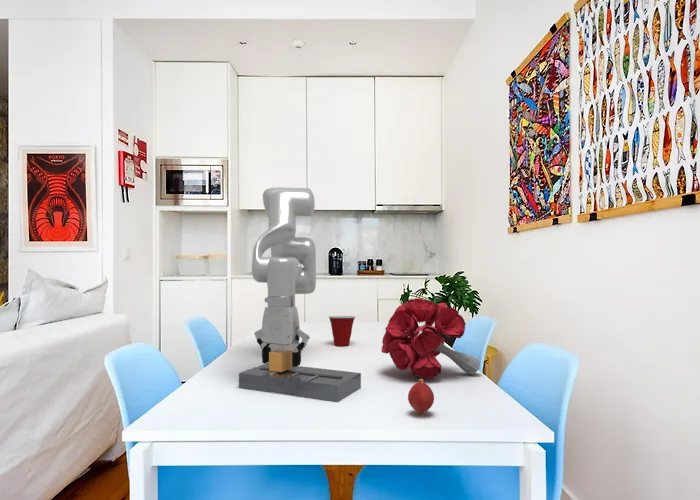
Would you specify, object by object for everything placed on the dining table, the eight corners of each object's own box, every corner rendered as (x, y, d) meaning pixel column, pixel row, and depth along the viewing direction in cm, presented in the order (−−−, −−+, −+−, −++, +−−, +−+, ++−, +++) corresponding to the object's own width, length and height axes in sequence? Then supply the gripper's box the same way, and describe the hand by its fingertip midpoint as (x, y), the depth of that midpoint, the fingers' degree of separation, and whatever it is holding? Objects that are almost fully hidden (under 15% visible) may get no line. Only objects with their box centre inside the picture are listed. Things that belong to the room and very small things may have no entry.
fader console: (238, 387, 130) (238, 371, 130) (268, 376, 143) (268, 361, 143) (337, 402, 117) (337, 384, 117) (360, 387, 130) (360, 371, 130)
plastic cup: (355, 342, 198) (355, 313, 198) (355, 347, 187) (355, 317, 187) (329, 342, 198) (329, 313, 198) (327, 347, 187) (327, 316, 187)
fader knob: (268, 370, 131) (268, 351, 131) (280, 365, 136) (280, 347, 136) (281, 372, 129) (281, 352, 129) (293, 367, 134) (293, 348, 134)
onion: (405, 410, 111) (405, 375, 111) (430, 409, 112) (430, 375, 112) (411, 418, 105) (411, 382, 105) (436, 418, 106) (436, 381, 106)
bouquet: (449, 386, 156) (369, 341, 155) (486, 324, 155) (406, 278, 154) (464, 412, 135) (371, 360, 134) (507, 341, 133) (414, 287, 133)
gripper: (247, 302, 133) (247, 364, 133) (301, 304, 126) (301, 370, 126) (263, 300, 140) (263, 358, 140) (315, 302, 133) (315, 364, 132)
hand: (281, 364), depth 133 cm, fingers open, 9 cm apart
